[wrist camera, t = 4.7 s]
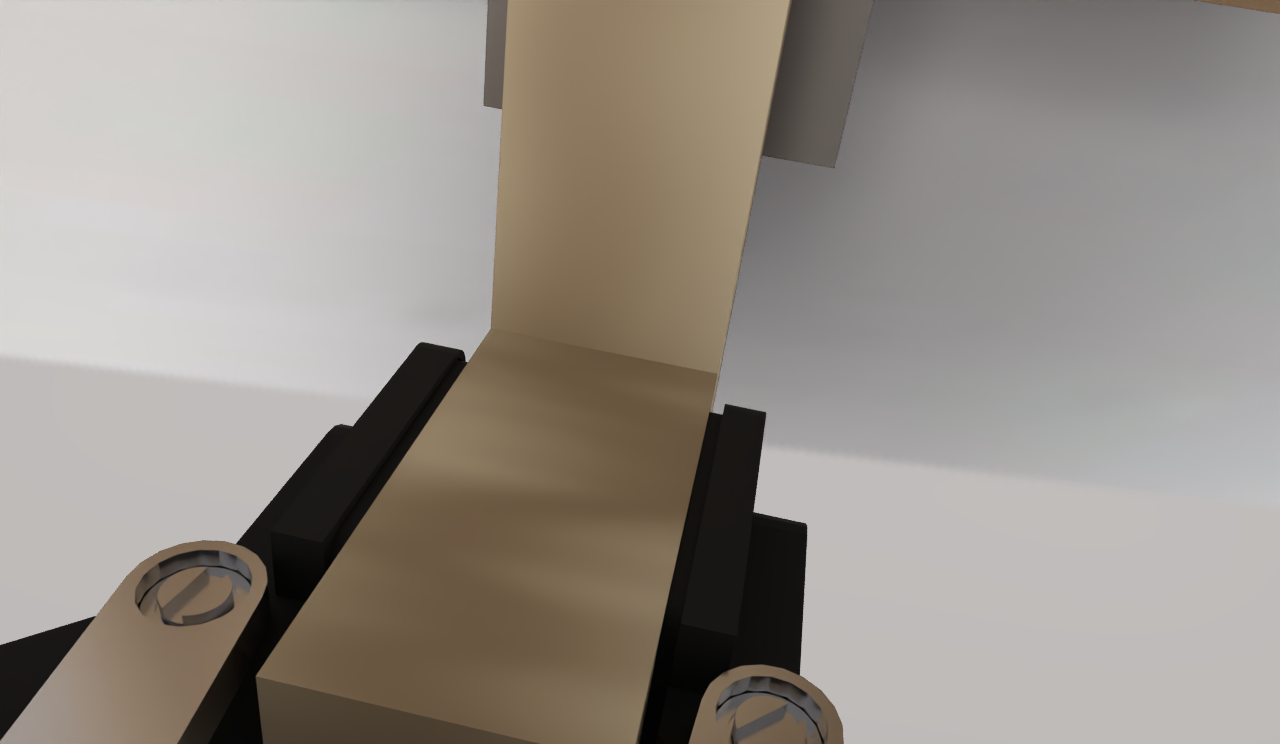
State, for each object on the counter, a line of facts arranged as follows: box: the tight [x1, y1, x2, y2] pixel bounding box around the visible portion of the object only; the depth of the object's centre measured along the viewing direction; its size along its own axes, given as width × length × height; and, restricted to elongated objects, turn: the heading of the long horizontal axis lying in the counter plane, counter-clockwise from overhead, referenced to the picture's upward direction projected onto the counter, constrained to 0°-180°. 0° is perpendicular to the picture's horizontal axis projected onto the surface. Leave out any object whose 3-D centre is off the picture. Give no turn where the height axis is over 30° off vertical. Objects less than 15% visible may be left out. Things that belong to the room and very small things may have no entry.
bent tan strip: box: [256, 0, 792, 744], centre depth 10 cm, size 3×9×8 cm, turn 173°
